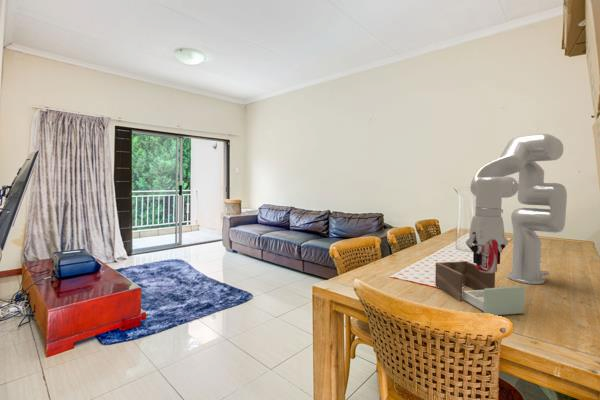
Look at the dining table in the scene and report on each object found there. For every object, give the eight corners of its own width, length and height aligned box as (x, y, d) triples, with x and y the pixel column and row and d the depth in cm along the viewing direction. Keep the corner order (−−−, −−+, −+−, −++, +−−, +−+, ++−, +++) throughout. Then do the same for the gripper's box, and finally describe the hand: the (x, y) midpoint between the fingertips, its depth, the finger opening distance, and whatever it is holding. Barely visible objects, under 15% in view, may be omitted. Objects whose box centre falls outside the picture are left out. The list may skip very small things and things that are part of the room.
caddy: (466, 284, 120) (466, 261, 119) (494, 298, 105) (495, 272, 104) (435, 286, 118) (435, 262, 117) (459, 301, 103) (460, 274, 102)
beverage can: (500, 274, 95) (501, 239, 95) (480, 273, 97) (481, 239, 96) (492, 269, 102) (493, 236, 101) (473, 268, 103) (473, 235, 102)
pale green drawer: (488, 295, 107) (489, 272, 107) (523, 313, 92) (524, 287, 92) (455, 297, 106) (456, 274, 105) (485, 316, 91) (486, 289, 90)
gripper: (501, 211, 103) (500, 259, 104) (457, 212, 101) (456, 261, 102) (520, 213, 95) (518, 265, 96) (472, 214, 93) (471, 267, 94)
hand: (486, 263), depth 99 cm, fingers closed on beverage can, 6 cm apart
